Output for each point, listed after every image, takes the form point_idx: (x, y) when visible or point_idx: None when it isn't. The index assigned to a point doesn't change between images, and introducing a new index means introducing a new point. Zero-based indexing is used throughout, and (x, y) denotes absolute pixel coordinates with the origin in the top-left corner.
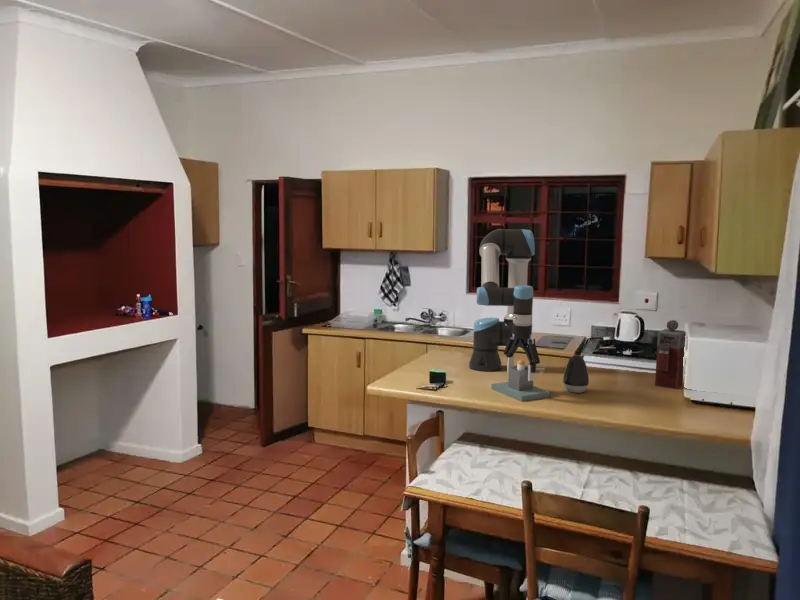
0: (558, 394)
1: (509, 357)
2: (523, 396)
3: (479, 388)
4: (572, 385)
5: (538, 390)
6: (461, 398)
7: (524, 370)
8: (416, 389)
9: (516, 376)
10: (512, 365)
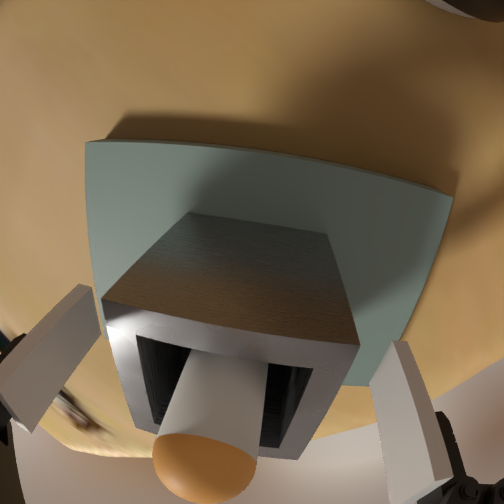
0: (432, 91)
1: (19, 422)
2: None
3: (100, 350)
4: (497, 22)
5: (380, 233)
6: None
7: (309, 432)
8: (86, 435)
9: None
10: (55, 340)
